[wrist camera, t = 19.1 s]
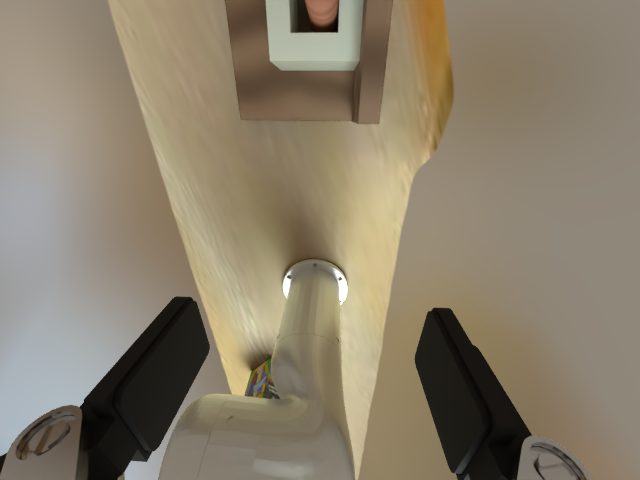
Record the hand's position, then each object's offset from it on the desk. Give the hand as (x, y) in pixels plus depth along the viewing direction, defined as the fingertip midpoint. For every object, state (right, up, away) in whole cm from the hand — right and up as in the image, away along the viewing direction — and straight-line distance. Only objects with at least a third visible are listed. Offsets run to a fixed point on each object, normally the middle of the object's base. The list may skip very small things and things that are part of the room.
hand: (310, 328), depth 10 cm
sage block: (0, +28, +17) cm, 33 cm away
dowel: (+1, +28, +17) cm, 33 cm away
